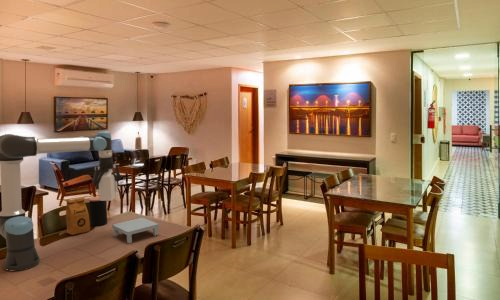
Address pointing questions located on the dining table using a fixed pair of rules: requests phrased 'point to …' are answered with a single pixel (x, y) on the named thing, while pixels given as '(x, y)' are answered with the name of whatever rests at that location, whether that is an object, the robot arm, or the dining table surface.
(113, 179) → the milk carton
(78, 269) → the dining table surface
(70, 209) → the coffee package
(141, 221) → the grey square footed tray
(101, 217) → the coffee jar
